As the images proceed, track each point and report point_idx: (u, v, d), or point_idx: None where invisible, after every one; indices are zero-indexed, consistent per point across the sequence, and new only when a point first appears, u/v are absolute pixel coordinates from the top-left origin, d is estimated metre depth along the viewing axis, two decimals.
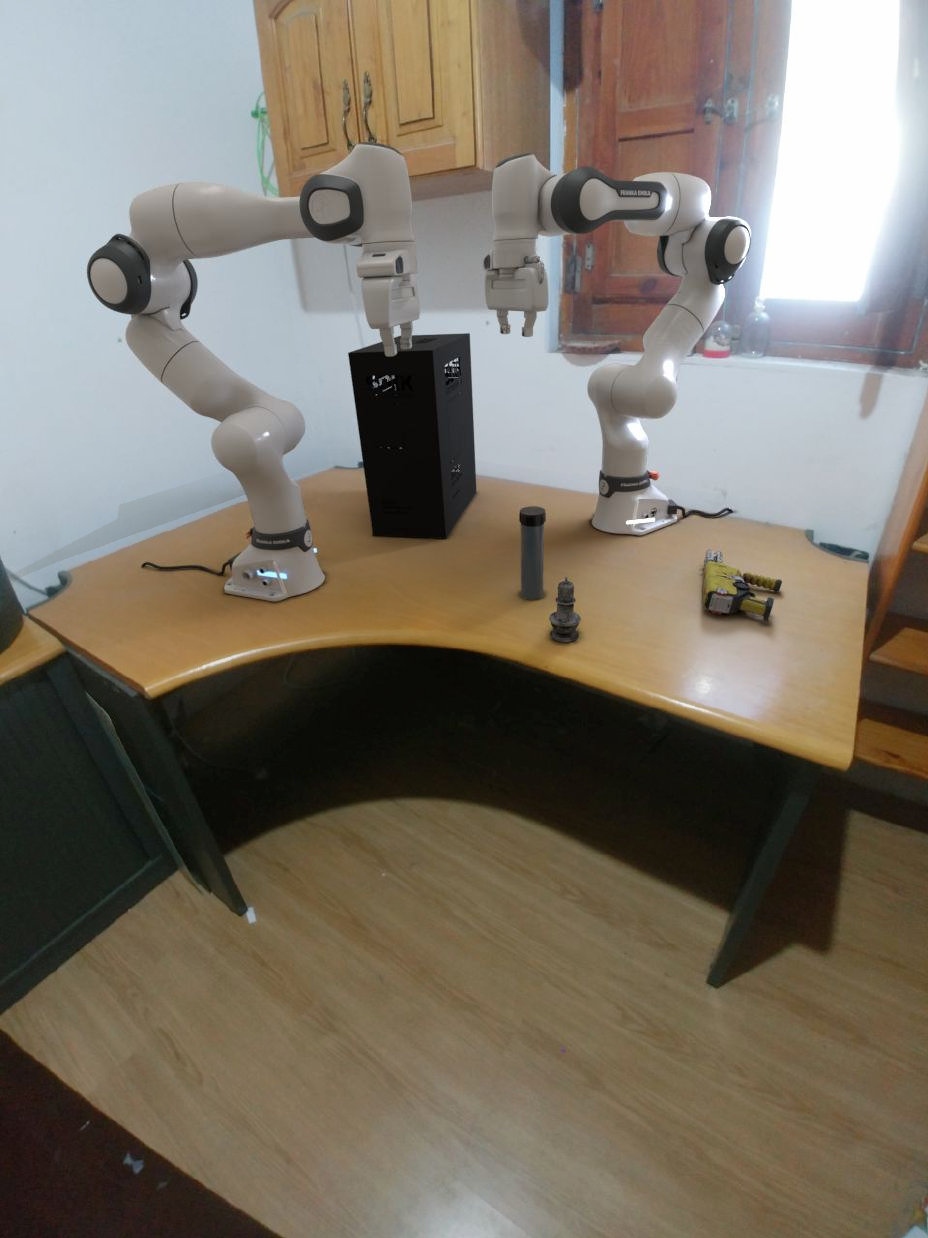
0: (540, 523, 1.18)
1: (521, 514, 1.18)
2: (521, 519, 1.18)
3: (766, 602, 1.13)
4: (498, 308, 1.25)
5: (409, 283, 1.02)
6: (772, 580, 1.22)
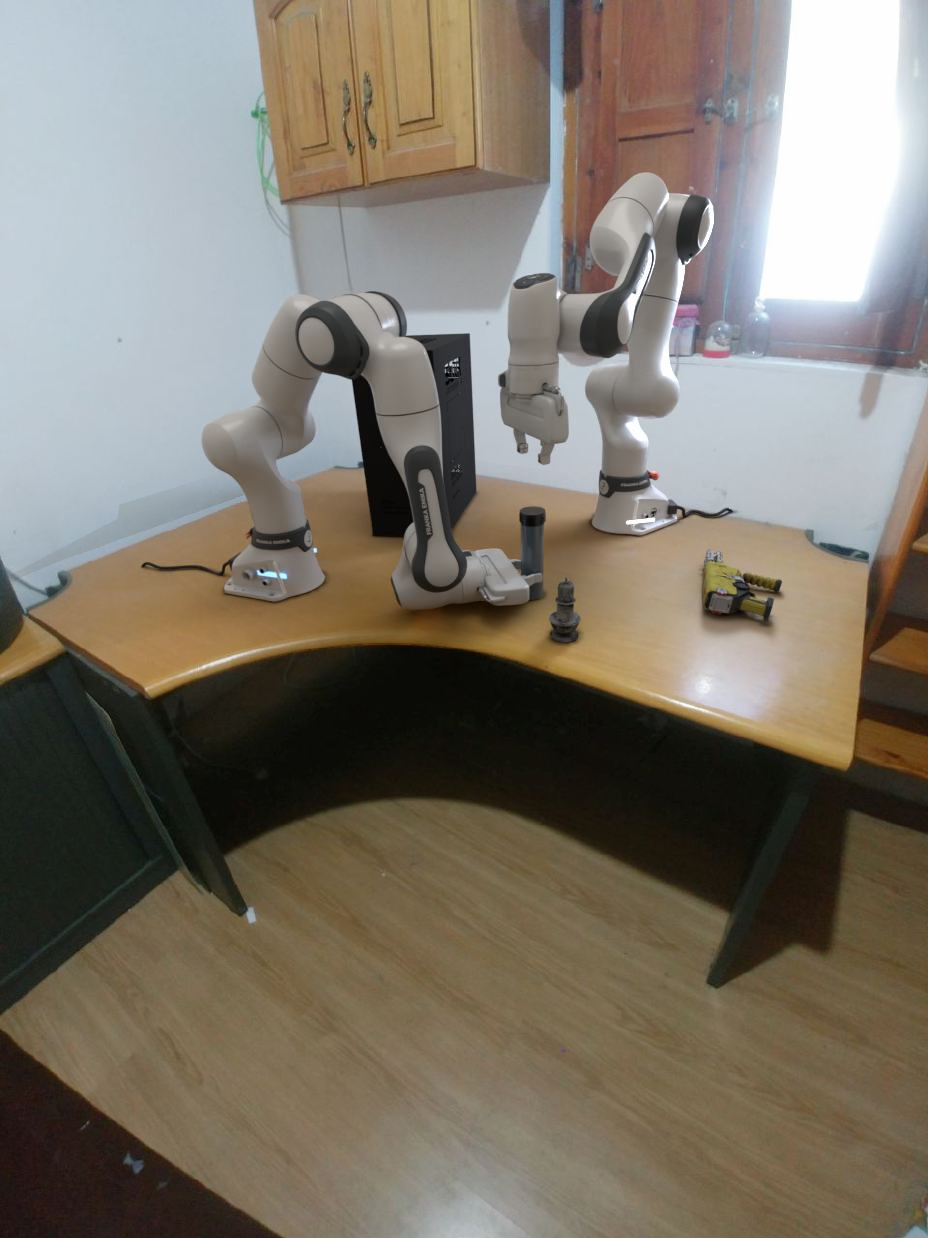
0: (540, 523, 1.18)
1: (521, 514, 1.18)
2: (521, 519, 1.18)
3: (766, 602, 1.13)
4: (514, 428, 1.14)
5: None
6: (772, 580, 1.22)
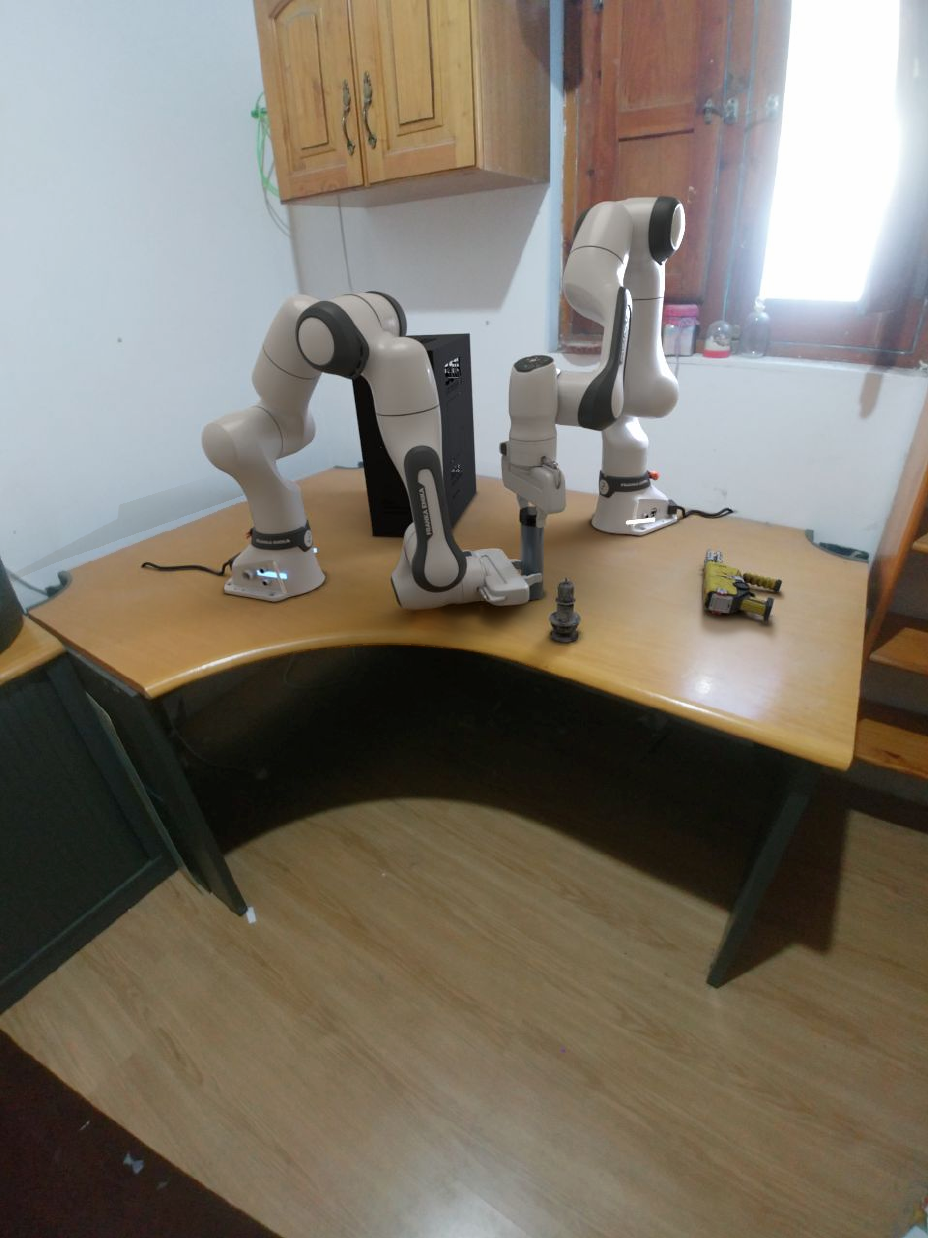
0: None
1: (521, 514, 1.18)
2: (521, 519, 1.18)
3: (766, 602, 1.13)
4: (514, 492, 1.20)
5: None
6: (772, 580, 1.22)
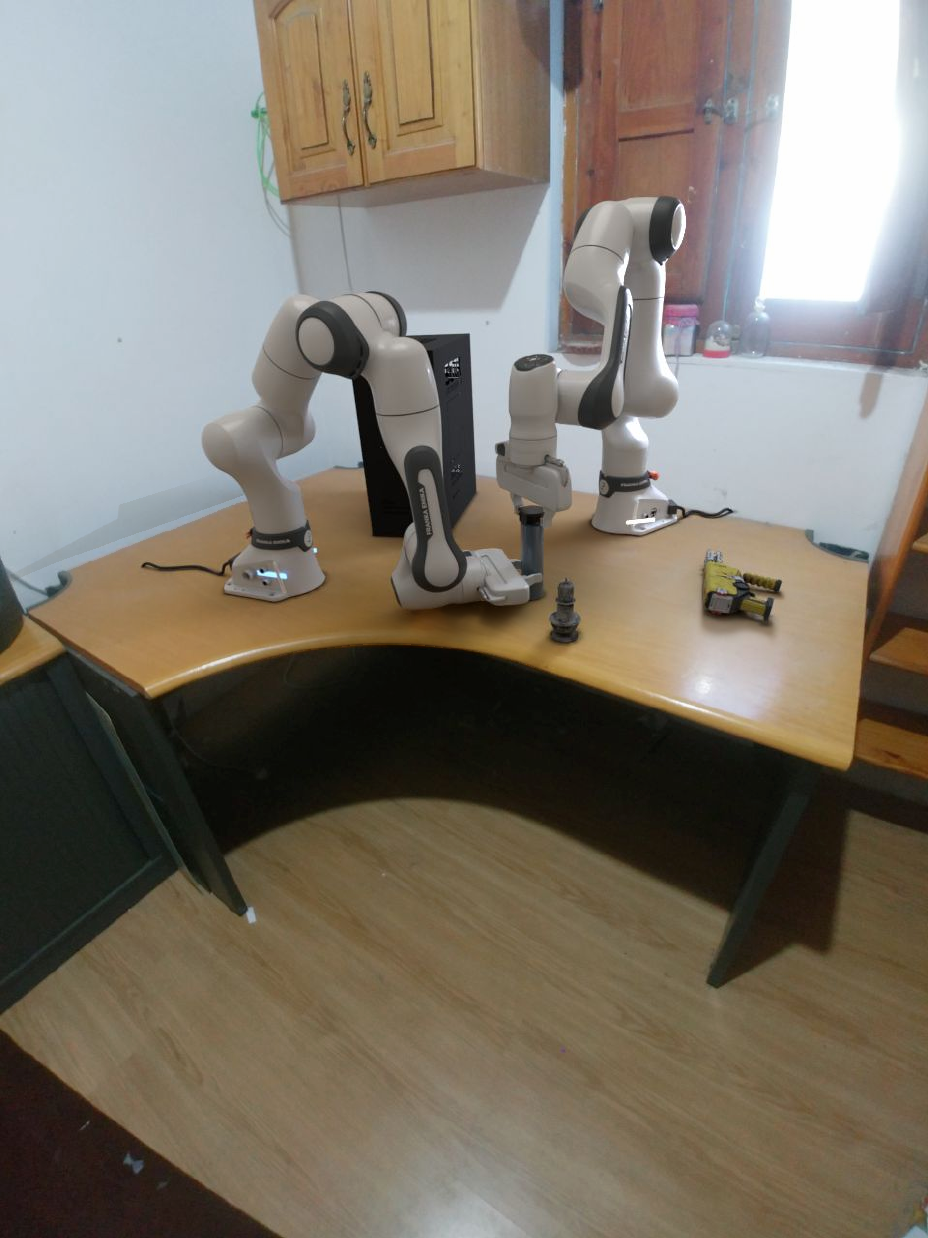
0: None
1: (533, 515, 1.16)
2: (533, 520, 1.17)
3: (766, 602, 1.13)
4: (512, 492, 1.20)
5: None
6: (772, 580, 1.22)
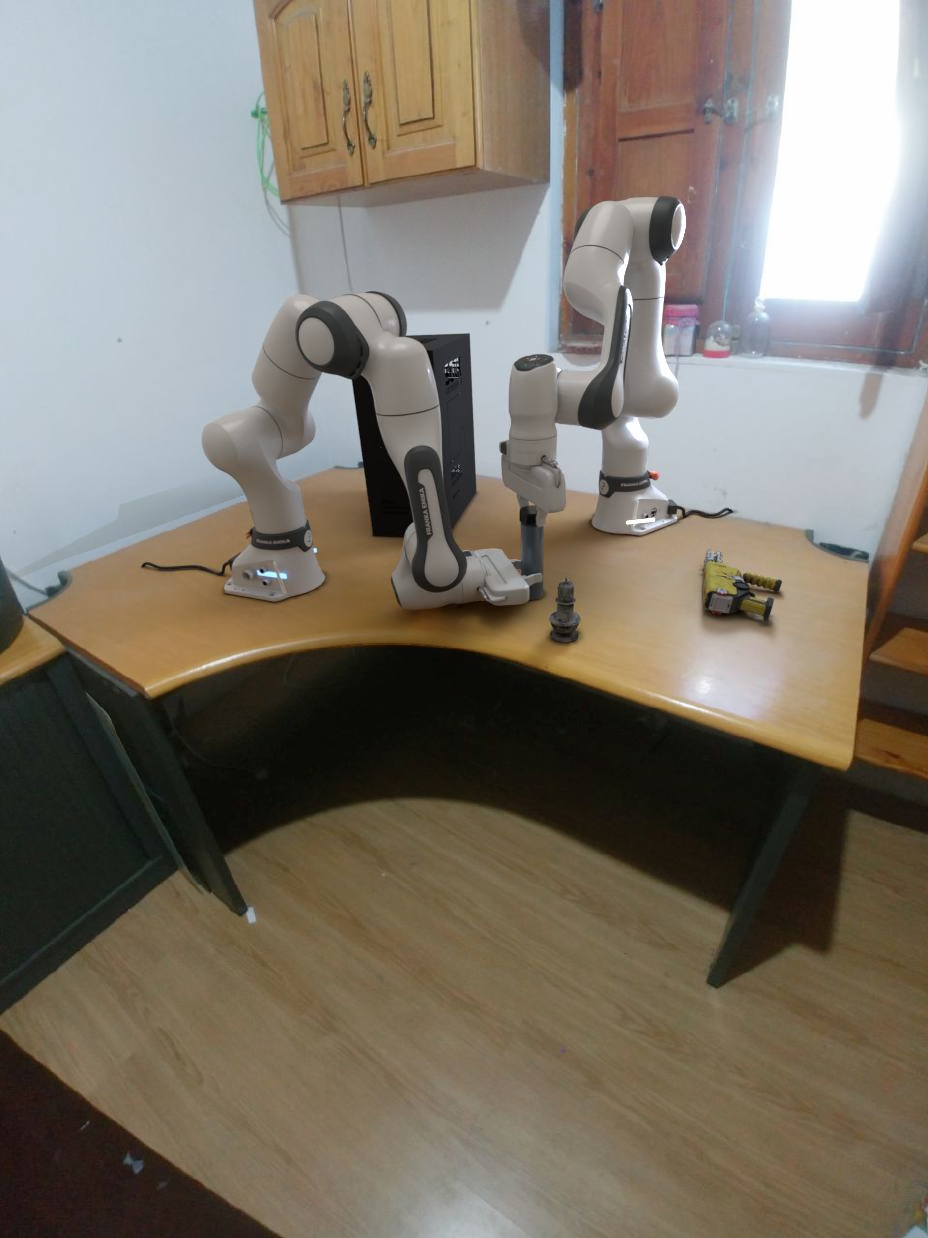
0: None
1: (533, 515, 1.16)
2: (533, 520, 1.17)
3: (766, 602, 1.13)
4: (514, 491, 1.20)
5: None
6: (772, 580, 1.22)
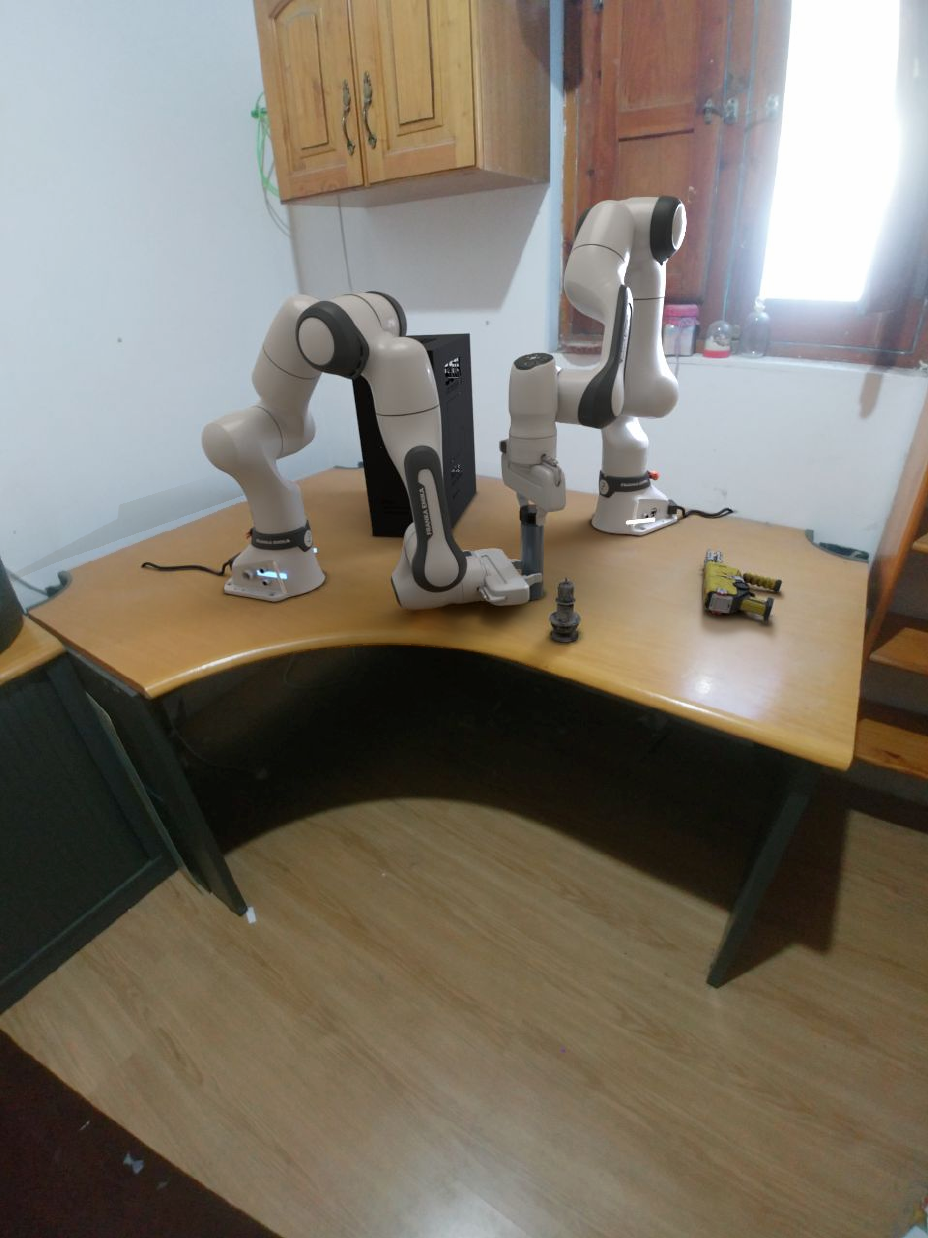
0: None
1: None
2: None
3: (766, 602, 1.13)
4: (514, 490, 1.20)
5: None
6: (772, 580, 1.22)
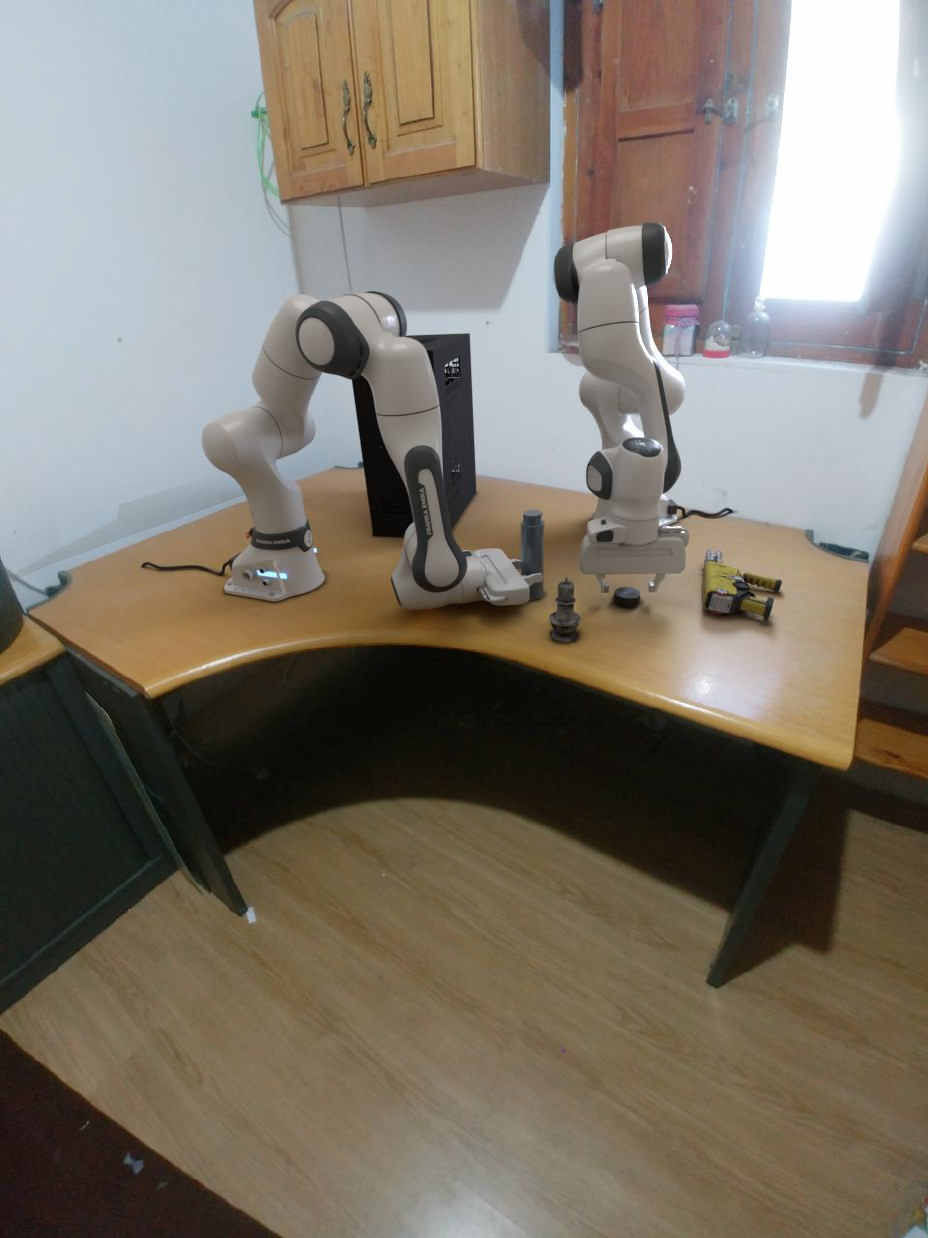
0: None
1: None
2: None
3: (766, 602, 1.13)
4: (609, 573, 1.18)
5: None
6: (772, 580, 1.22)
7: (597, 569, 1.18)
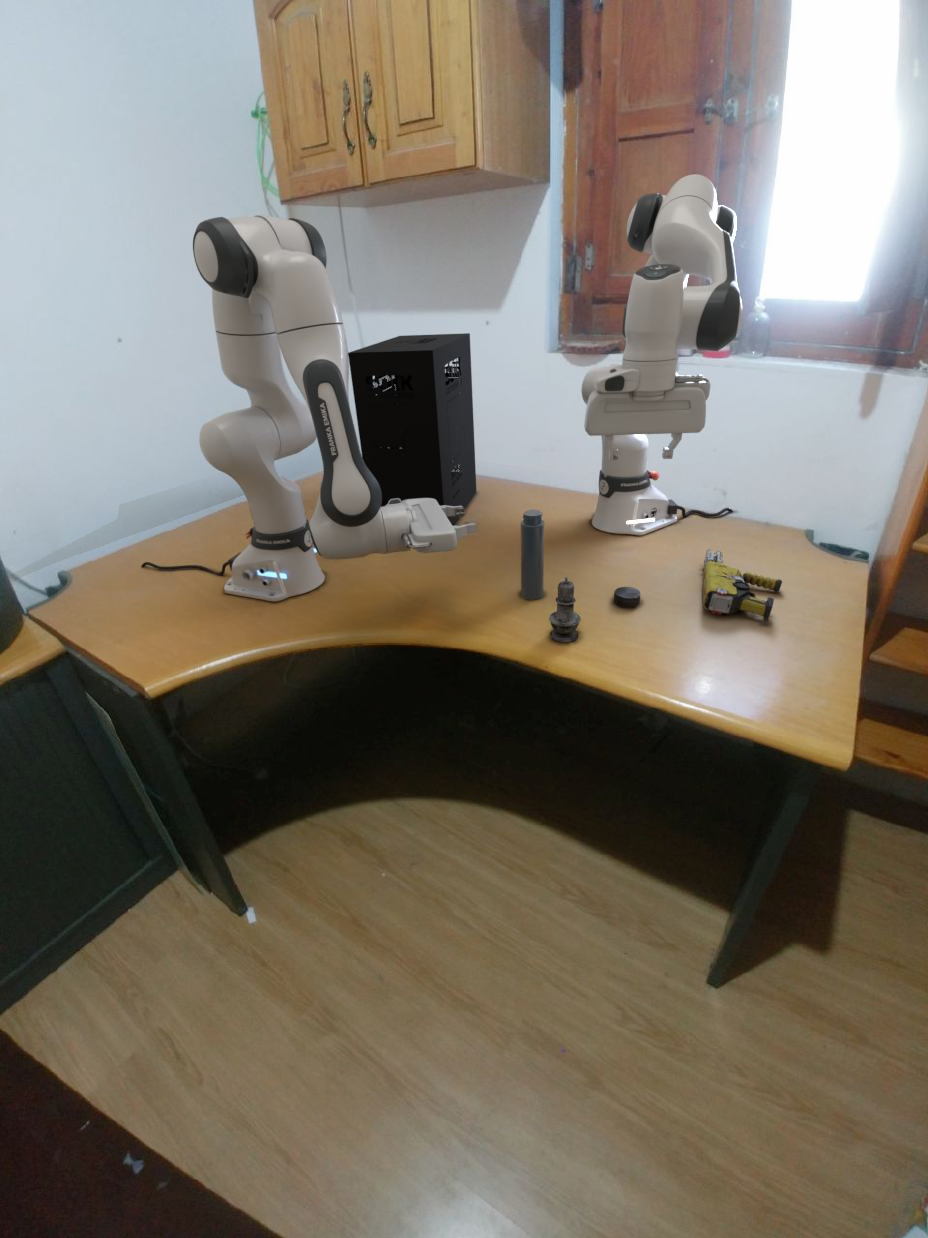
0: None
1: None
2: None
3: (766, 602, 1.13)
4: (619, 433, 1.05)
5: None
6: (772, 580, 1.22)
7: (605, 428, 1.04)
